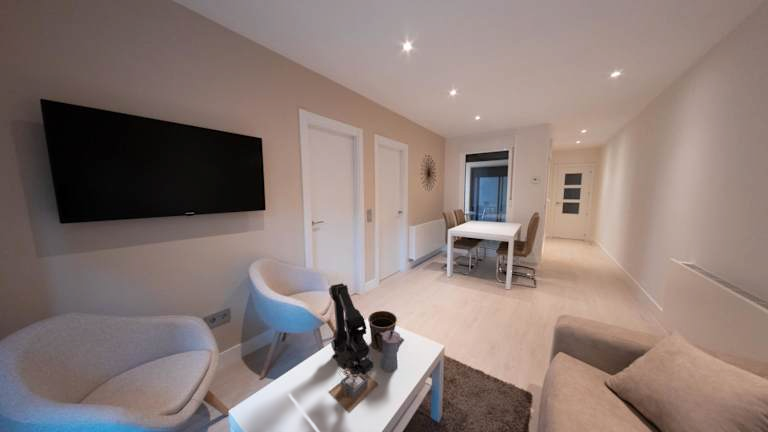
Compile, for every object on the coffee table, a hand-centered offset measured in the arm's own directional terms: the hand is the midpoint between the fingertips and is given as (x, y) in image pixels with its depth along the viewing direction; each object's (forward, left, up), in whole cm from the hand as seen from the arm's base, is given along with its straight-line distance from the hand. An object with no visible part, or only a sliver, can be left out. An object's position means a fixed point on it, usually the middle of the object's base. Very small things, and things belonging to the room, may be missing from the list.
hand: (354, 373), depth 103 cm
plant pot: (-10, +30, -8) cm, 33 cm away
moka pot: (+3, +20, -8) cm, 22 cm away
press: (0, 0, -7) cm, 7 cm away
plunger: (0, 0, -4) cm, 4 cm away
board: (0, 0, -8) cm, 8 cm away
